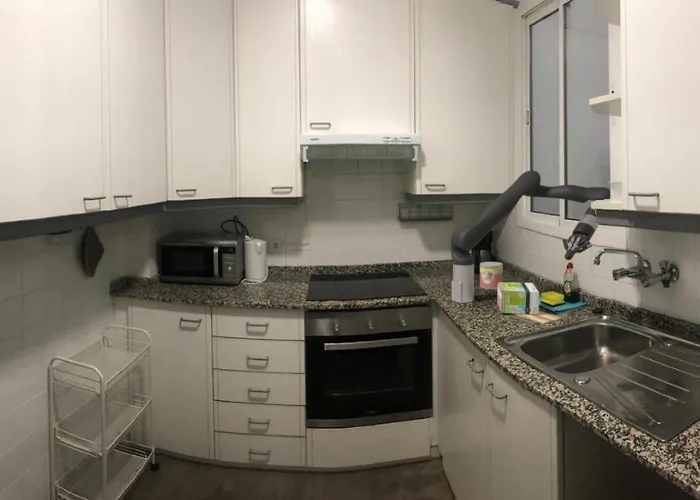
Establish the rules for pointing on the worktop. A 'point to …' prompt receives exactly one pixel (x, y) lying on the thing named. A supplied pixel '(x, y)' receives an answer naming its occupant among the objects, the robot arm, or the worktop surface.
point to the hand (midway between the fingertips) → (566, 258)
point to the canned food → (490, 274)
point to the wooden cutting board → (540, 317)
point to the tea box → (518, 298)
